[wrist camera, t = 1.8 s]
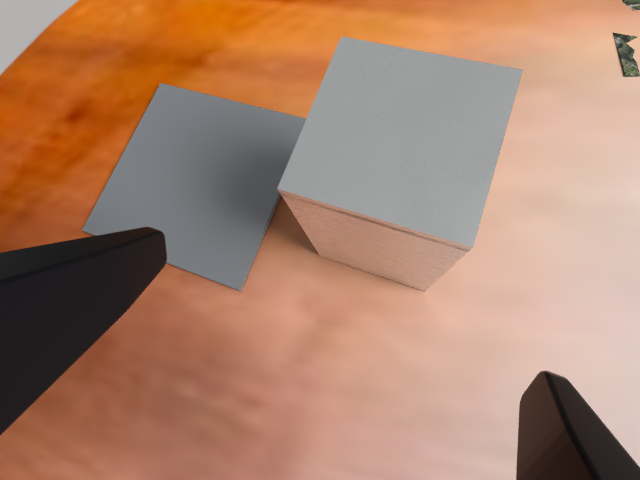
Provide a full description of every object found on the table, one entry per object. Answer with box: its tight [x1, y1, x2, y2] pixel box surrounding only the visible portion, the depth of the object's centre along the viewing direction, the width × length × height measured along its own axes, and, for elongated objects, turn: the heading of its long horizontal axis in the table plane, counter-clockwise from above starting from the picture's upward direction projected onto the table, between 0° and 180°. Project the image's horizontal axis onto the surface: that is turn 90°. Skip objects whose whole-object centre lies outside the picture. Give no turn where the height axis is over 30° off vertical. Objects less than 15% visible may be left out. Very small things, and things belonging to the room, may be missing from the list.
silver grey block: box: [277, 37, 523, 291], centre depth 17 cm, size 6×6×10 cm
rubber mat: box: [82, 83, 306, 291], centre depth 24 cm, size 12×12×1 cm
